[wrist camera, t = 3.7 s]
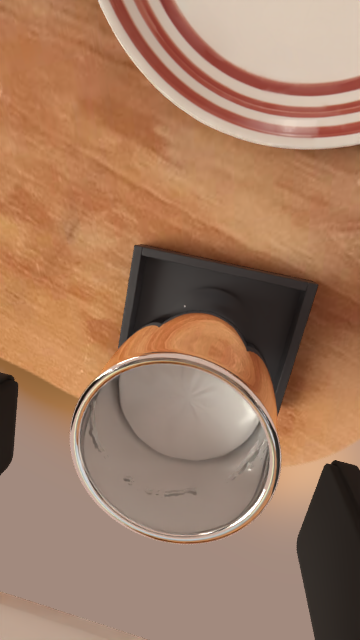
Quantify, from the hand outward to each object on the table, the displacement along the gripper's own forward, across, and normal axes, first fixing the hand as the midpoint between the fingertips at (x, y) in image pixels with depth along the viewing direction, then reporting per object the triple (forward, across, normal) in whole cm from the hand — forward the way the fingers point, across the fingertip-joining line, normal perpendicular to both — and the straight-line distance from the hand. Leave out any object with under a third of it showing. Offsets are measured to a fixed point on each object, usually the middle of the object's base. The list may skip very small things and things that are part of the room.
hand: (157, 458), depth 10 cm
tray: (+16, -1, 0) cm, 16 cm away
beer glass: (+16, -1, 0) cm, 16 cm away
